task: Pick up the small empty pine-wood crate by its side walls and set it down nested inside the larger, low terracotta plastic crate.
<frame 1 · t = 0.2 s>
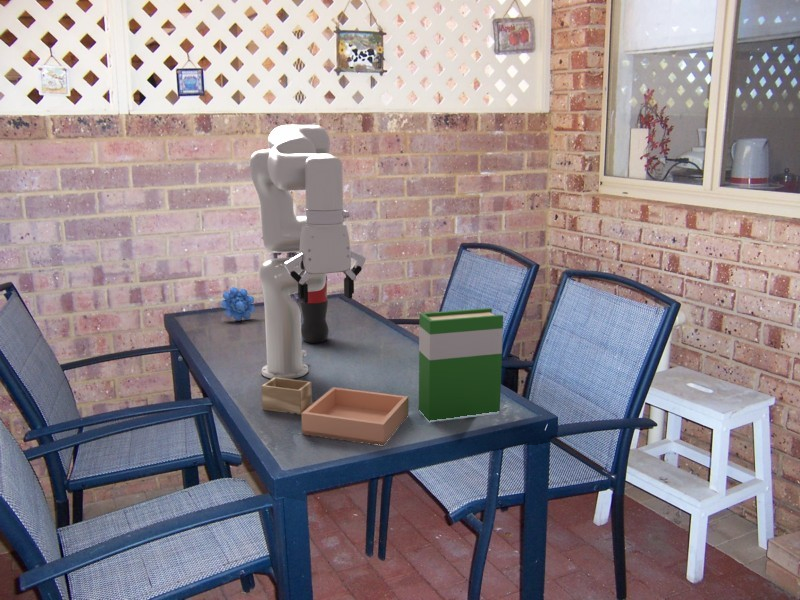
hand: (326, 299, 154), 31 cm above the table, tool pointing down, fingers open, 9 cm apart
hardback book: (458, 413, 174), on the table
terracotta crate: (356, 425, 166), on the table
cola bottle: (315, 341, 230), on the table
pine crate: (287, 407, 177), on the table
blue flower: (239, 322, 252), on the table
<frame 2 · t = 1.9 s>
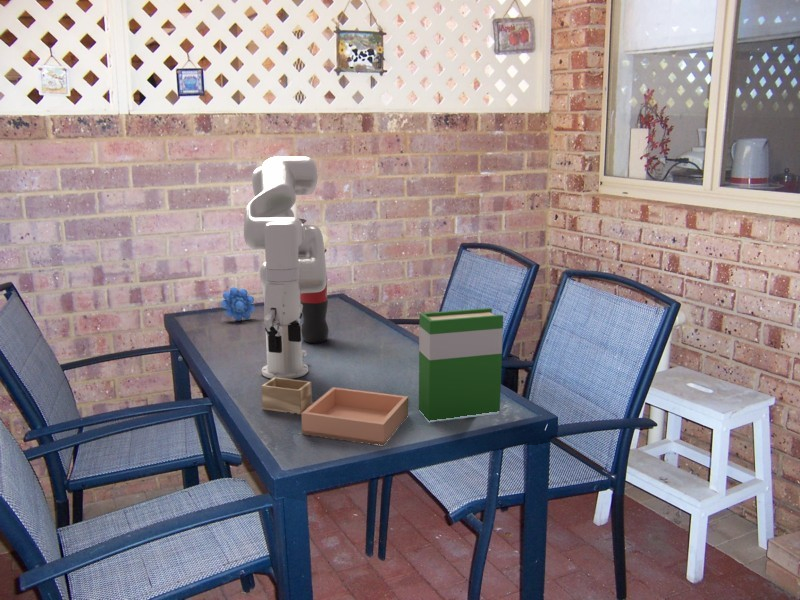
hand: (285, 346, 173), 15 cm above the table, tool pointing down, fingers open, 9 cm apart
nothing on the table moved.
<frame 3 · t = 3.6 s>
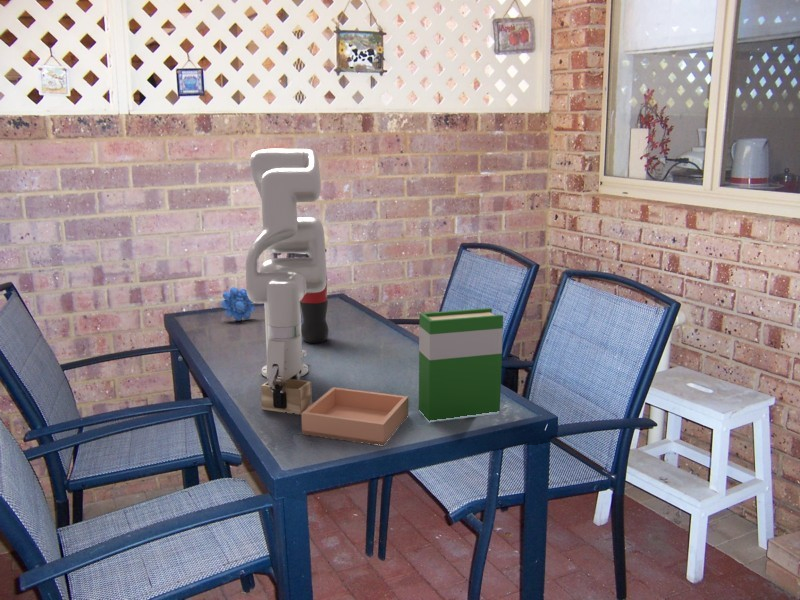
hand: (287, 401, 177), 1 cm above the table, tool pointing down, fingers closed on pine crate, 6 cm apart
pine crate: (287, 407, 177), on the table, touching gripper
everything else where it was.
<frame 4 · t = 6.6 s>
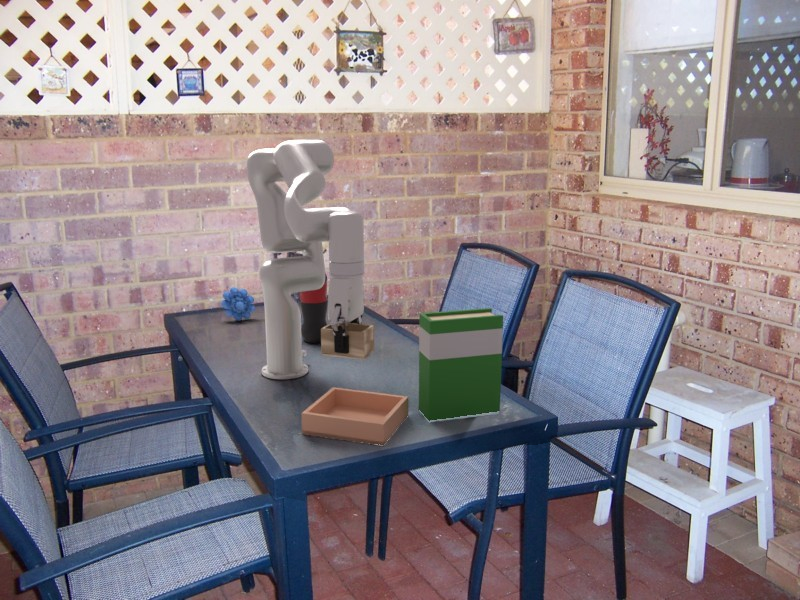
hand: (348, 347, 163), 18 cm above the table, tool pointing down, fingers closed on pine crate, 6 cm apart
pine crate: (348, 353, 163), point 17 cm above the table, touching gripper
everything else where it was.
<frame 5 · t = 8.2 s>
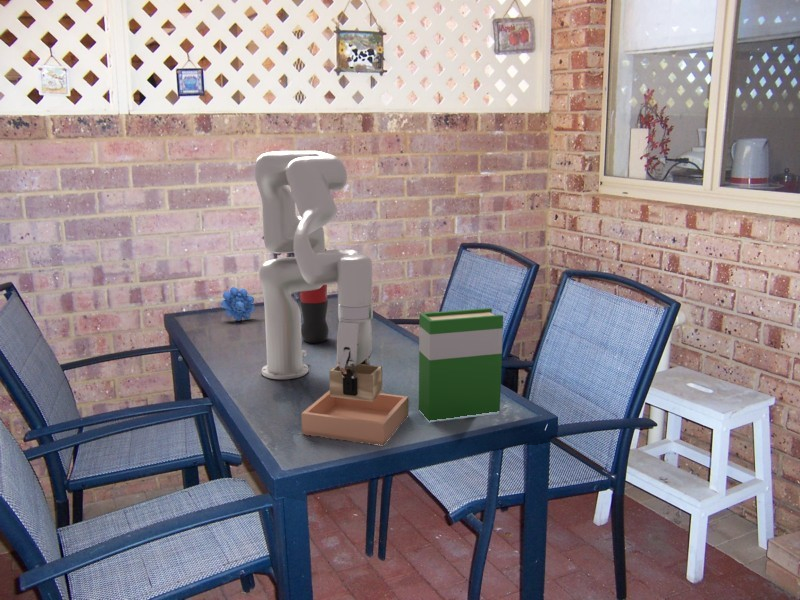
hand: (356, 388, 164), 9 cm above the table, tool pointing down, fingers closed on pine crate, 6 cm apart
pine crate: (356, 394, 164), point 8 cm above the table, touching gripper
everything else where it was.
when the fingers open (4 cm above the table, at t = 9.7 s): pine crate drops 1 cm, resting on terracotta crate.
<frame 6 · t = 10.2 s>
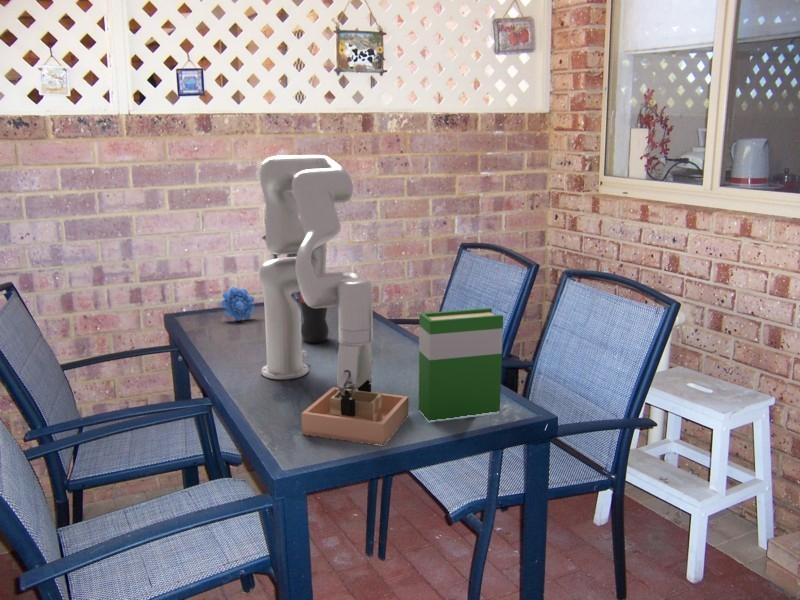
hand: (356, 407, 165), 4 cm above the table, tool pointing down, fingers open, 9 cm apart
pine crate: (356, 420, 166), point 1 cm above the table, touching terracotta crate
everything else where it was.
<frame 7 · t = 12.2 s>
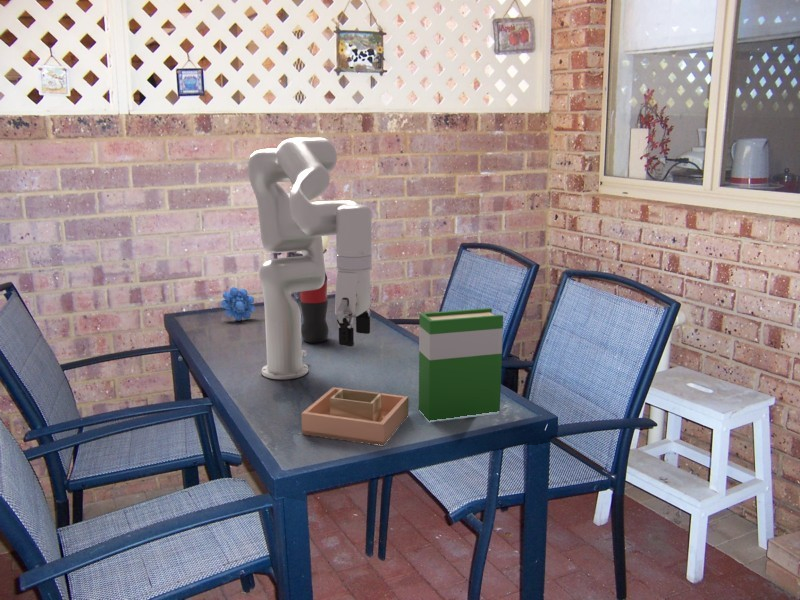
hand: (354, 338, 162), 20 cm above the table, tool pointing down, fingers open, 9 cm apart
nothing on the table moved.
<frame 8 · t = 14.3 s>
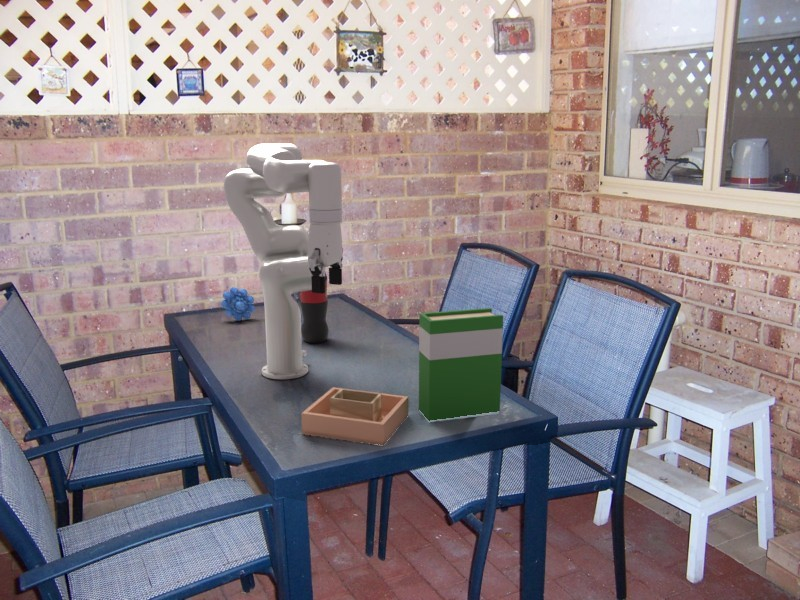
hand: (327, 288, 174), 28 cm above the table, tool pointing down, fingers open, 9 cm apart
nothing on the table moved.
at the end: pine crate inside the target area on the terracotta crate (0.2 cm from its centre), point 1.0 cm above the terracotta crate's base; pine crate tilted 0°; the gripper is holding nothing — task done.
